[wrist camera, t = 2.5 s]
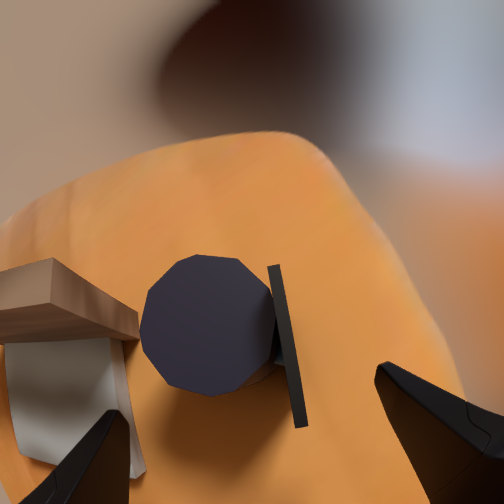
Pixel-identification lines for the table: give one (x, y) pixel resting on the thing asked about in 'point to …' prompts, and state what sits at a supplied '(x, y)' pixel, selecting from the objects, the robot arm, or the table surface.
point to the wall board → (63, 358)
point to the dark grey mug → (220, 329)
